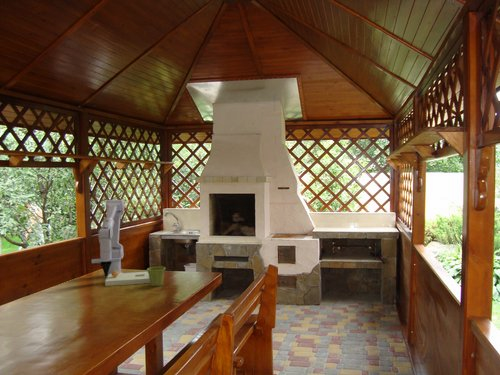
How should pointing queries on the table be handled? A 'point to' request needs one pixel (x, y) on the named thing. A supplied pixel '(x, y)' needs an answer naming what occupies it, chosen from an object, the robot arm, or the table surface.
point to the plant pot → (156, 275)
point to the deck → (128, 279)
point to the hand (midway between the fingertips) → (106, 275)
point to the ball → (114, 273)
